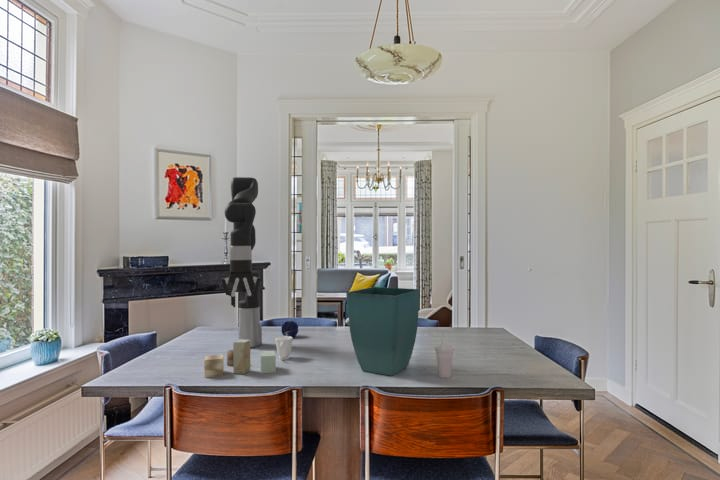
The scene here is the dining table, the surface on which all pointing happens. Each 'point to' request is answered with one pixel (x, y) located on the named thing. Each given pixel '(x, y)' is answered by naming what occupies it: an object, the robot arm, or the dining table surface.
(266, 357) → the sage block
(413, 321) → the flower pot
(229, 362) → the walnut cylinder
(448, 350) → the smoothie
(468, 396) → the dining table surface
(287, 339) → the cup
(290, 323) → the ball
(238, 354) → the box
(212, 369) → the beech cube
